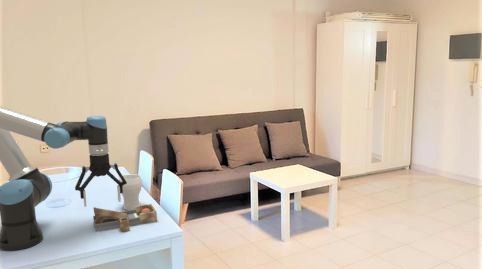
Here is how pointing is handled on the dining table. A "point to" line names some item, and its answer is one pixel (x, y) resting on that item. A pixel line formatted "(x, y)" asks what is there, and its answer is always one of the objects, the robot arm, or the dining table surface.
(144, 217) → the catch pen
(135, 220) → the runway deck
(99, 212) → the ramp
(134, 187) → the cup
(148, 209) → the ball
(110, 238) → the dining table surface
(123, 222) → the hollow wooden block
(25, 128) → the robot arm
